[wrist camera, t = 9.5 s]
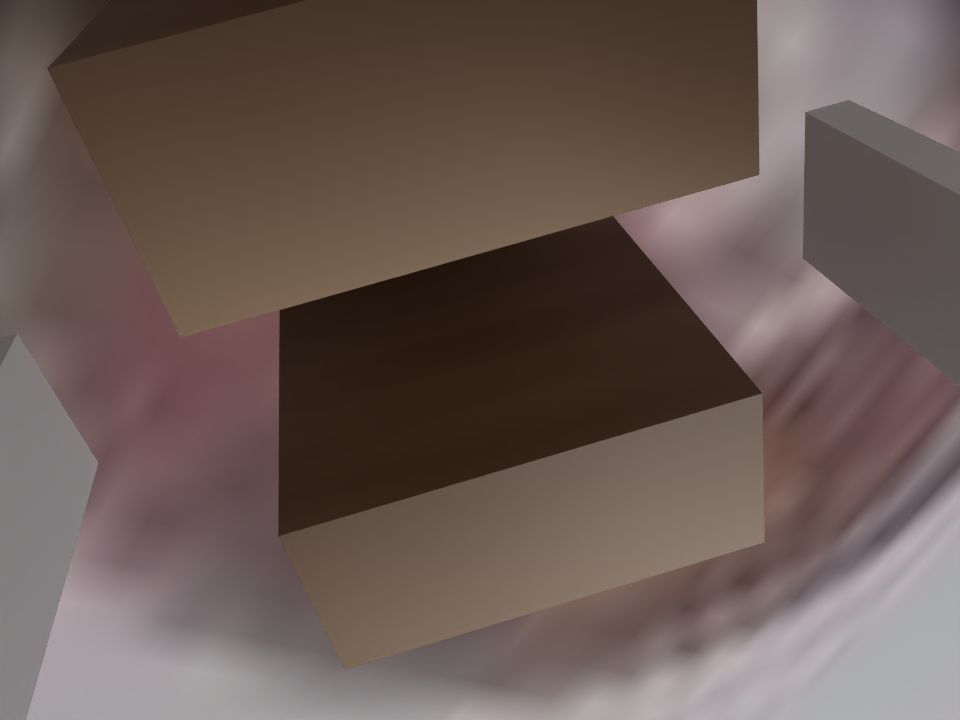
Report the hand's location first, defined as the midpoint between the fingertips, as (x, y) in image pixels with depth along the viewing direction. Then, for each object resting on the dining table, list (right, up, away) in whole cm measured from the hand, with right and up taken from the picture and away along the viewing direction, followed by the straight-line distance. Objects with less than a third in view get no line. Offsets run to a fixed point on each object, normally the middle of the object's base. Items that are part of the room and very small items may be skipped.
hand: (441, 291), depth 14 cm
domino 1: (-2, +6, +1) cm, 6 cm away
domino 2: (-1, +2, +3) cm, 4 cm away
